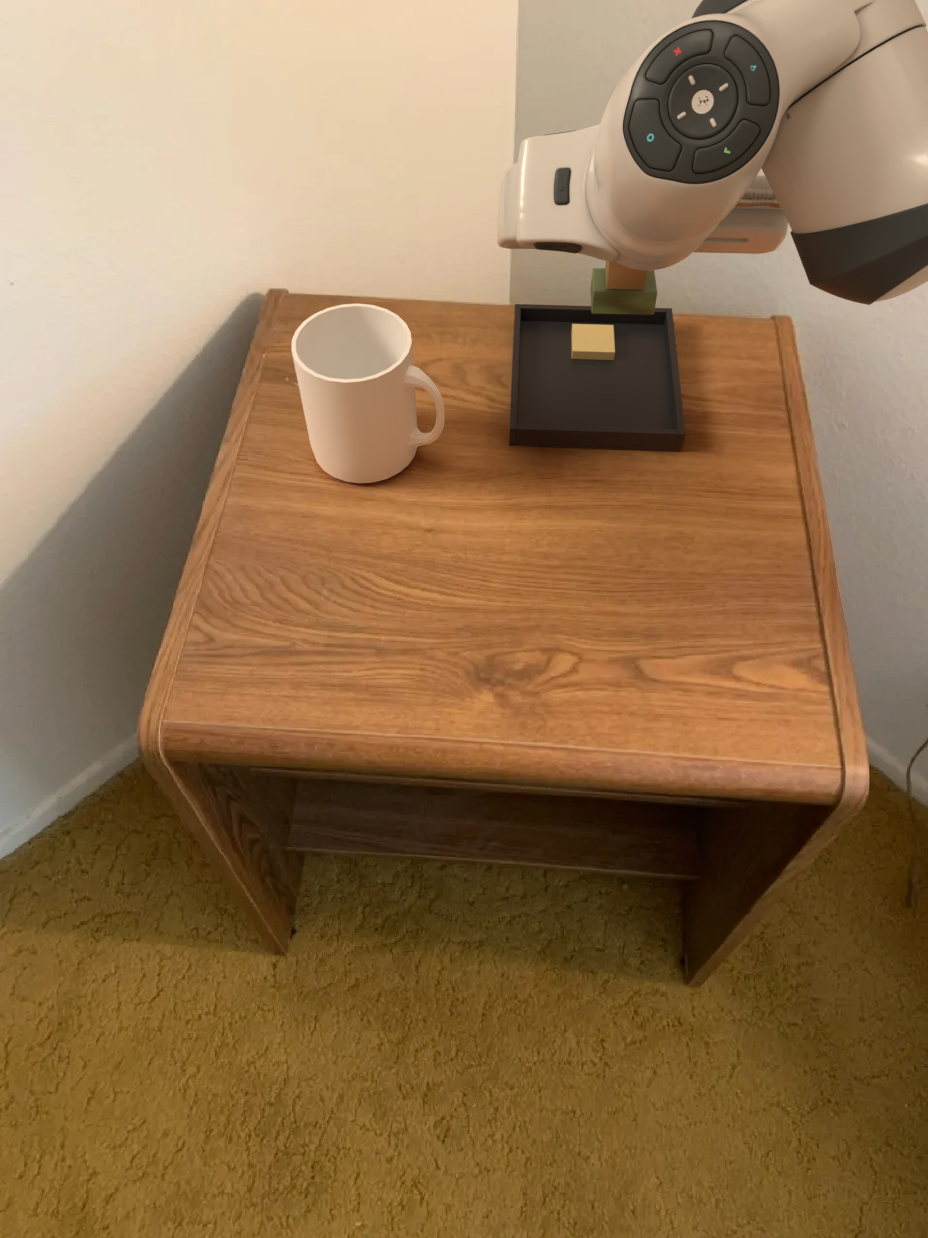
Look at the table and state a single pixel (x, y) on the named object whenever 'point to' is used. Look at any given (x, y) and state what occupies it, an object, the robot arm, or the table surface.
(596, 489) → the table surface
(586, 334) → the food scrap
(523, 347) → the black tray
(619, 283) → the scrub brush
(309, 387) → the mug
